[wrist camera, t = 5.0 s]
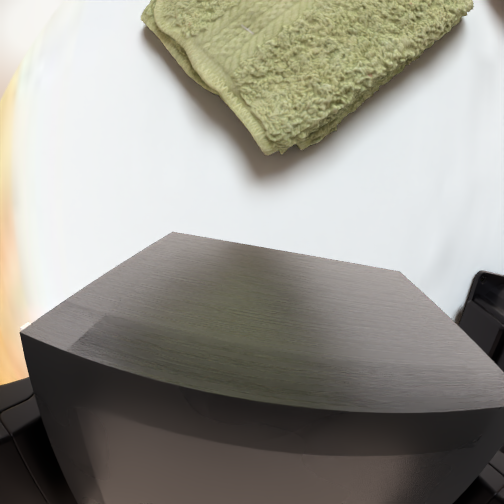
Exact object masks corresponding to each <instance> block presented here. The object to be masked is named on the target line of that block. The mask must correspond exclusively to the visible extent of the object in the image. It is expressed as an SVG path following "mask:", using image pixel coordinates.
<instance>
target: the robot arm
mask: <svg viewBox="0 0 504 504" xmlns="http://www.w3.org/2000/svg"><path fill="white" fill-rule="evenodd" d="M482 277H483V280H482V281H481V278H482ZM459 327H460V328H461V329H462V330H463V331H464V332H465V333H466V334H467V335H468V336H469V337H470V338H471V339H472V340H473V341H474V342H475V343H476V344H477V345H478V346H479V347H480V348H481V349H482V350H483V351H484V352H485V353H486V354H487V355H488V356H489V357H490V358H491V359H492V361H493V362H494V363H495V364H496V365H497V366H498V367H499V368H500V369H501V370H502V371H503V372H504V275H501V274H496V273H492V272H487V271H479V272H478V273H477V274H476V276H475V279H474V283H473V286H472V289H471V292H470V295H469V298H468V301H467V304H466V307H465V310H464V313H463V315H462V318H461V321H460V323H459ZM0 504H78V503H77V501H76V499H75V497H74V495H73V493H72V491H71V489H70V487H69V485H68V483H67V481H66V479H65V477H64V474H63V472H62V470H61V468H60V465H59V463H58V461H57V458H56V456H55V453H54V451H53V448H52V446H51V443H50V440H49V438H48V435H47V432H46V429H45V427H44V424H43V421H42V418H41V415H40V412H39V409H38V405H37V402H36V399H35V395H34V392H33V388H32V385H31V381H30V377H28V378H25V379H21V380H18V381H15V382H11V383H8V384H4V385H0ZM453 504H504V443H503V445H502V446H501V448H500V449H499V450H498V452H497V453H496V454H495V455H494V457H493V458H492V459H491V461H490V462H489V463H488V464H487V466H486V467H485V468H484V469H483V470H482V472H481V473H480V474H479V475H478V476H477V478H476V479H475V480H474V481H473V482H472V483H471V484H470V486H469V487H468V488H467V489H466V490H465V491H464V492H463V493H462V494H461V495H460V496H459V498H458V499H457V500H456V501H455V502H454V503H453Z"/></svg>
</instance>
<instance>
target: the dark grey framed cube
mask: <svg viewBox="0 0 504 504" xmlns="http://www.w3.org/2000/svg"><path fill="white" fill-rule="evenodd" d="M20 336H21V341H22V346H23V351H24V356H25V360H26V365H27V369H28V373H29V377H30V381H31V385H32V388H33V392H34V395H35V399H36V402H37V405H38V409H39V412H40V415H41V418H42V421H43V424H44V427H45V429H46V432H47V435H48V438H49V440H50V443H51V446H52V448H53V451H54V453H55V456H56V458H57V461H58V463H59V465H60V468H61V470H62V472H63V474H64V477H65V479H66V481H67V483H68V485H69V487H70V489H71V491H72V493H73V495H74V497H75V499H76V501H77V503H78V504H453V503H454V502H455V501H456V500H457V499H458V498H459V496H460V495H461V494H462V493H463V492H464V491H465V490H466V489H467V488H468V487H469V486H470V484H471V483H472V482H473V481H474V480H475V479H476V478H477V476H478V475H479V474H480V473H481V472H482V470H483V469H484V468H485V467H486V466H487V464H488V463H489V462H490V461H491V459H492V458H493V457H494V455H495V454H496V453H497V452H498V450H499V449H500V448H501V446H502V445H503V443H504V372H503V371H502V370H501V369H500V368H499V367H498V366H497V365H496V364H495V363H494V362H493V361H492V359H491V358H490V357H489V356H488V355H487V354H486V353H485V352H484V351H483V350H482V349H481V348H480V347H479V346H478V345H477V344H476V343H475V342H474V341H473V340H472V339H471V338H470V337H469V336H468V335H467V334H466V333H465V332H464V331H463V330H462V329H461V328H460V327H459V326H458V325H457V324H456V323H455V322H454V321H453V320H452V319H451V318H450V317H449V316H447V315H446V314H445V313H444V312H443V311H442V310H441V309H440V308H439V307H438V306H437V305H436V304H435V303H434V302H433V301H432V300H430V299H429V298H428V297H427V296H426V295H425V294H424V293H423V292H422V291H421V290H420V289H418V288H417V287H416V286H415V285H414V284H413V283H412V282H411V281H410V280H408V279H407V278H406V277H405V276H404V275H403V274H402V273H401V272H399V271H394V270H388V269H383V268H377V267H371V266H366V265H360V264H355V263H349V262H343V261H338V260H332V259H327V258H321V257H315V256H310V255H304V254H298V253H292V252H287V251H281V250H275V249H270V248H264V247H258V246H252V245H247V244H241V243H235V242H229V241H223V240H218V239H212V238H206V237H200V236H194V235H188V234H182V233H177V232H172V233H170V234H168V235H167V236H165V237H163V238H162V239H160V240H158V241H157V242H155V243H153V244H152V245H150V246H148V247H147V248H145V249H144V250H142V251H140V252H139V253H137V254H136V255H134V256H132V257H131V258H129V259H128V260H126V261H124V262H123V263H121V264H120V265H118V266H117V267H115V268H113V269H112V270H110V271H109V272H107V273H106V274H104V275H103V276H101V277H99V278H98V279H96V280H95V281H93V282H92V283H90V284H89V285H87V286H86V287H84V288H83V289H81V290H80V291H78V292H77V293H75V294H74V295H72V296H71V297H69V298H68V299H66V300H65V301H63V302H62V303H60V304H59V305H57V306H56V307H55V308H53V309H52V310H50V311H49V312H47V313H46V314H44V315H43V316H42V317H40V318H39V319H37V320H36V321H34V322H33V323H32V324H30V325H29V326H27V327H26V328H25V329H23V330H22V331H21V332H20Z"/></svg>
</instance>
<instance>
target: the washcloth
mask: <svg viewBox="0 0 504 504" xmlns="http://www.w3.org/2000/svg"><path fill="white" fill-rule="evenodd" d="M473 7H474V6H473V1H472V0H151V1H150V4H149V5H148V6H147V7H146V8H145V10H144V11H143V13H142V15H141V20H142V21H143V22H144V23H145V24H146V25H147V26H148V27H149V28H150V30H151V31H153V32H154V33H155V34H156V35H157V37H158V38H159V39H160V40H161V42H162V43H163V44H164V46H165V47H166V49H167V50H168V51H169V52H170V54H171V56H172V57H173V58H175V60H176V61H177V63H178V64H179V65H180V66H181V67H182V69H183V70H184V71H185V73H186V74H187V75H188V76H189V77H191V78H192V79H193V80H194V81H195V82H196V83H198V84H199V85H201V86H202V87H203V88H204V89H206V90H208V91H210V92H212V93H214V94H216V95H219V96H220V98H221V99H222V100H223V101H224V102H225V103H226V105H227V106H228V107H229V108H230V109H231V110H232V111H233V112H234V113H235V115H236V116H237V117H238V118H239V120H240V121H241V122H242V123H243V125H244V126H245V127H246V128H247V129H248V131H249V132H250V133H251V135H252V137H253V138H254V140H255V141H256V143H257V144H258V146H259V147H260V149H261V151H262V152H263V153H264V154H265V155H267V156H269V155H271V154H273V153H274V152H277V151H279V152H280V153H281V155H283V153H284V152H286V151H287V149H288V148H289V147H292V146H293V145H295V144H296V145H297V146H298V148H299V149H301V150H303V149H305V148H306V147H308V146H309V145H313V144H316V143H319V142H320V141H321V140H322V139H323V138H324V137H325V136H326V135H328V134H330V133H331V132H333V131H337V124H340V123H341V120H342V119H343V118H344V117H346V116H347V115H348V113H351V112H354V111H356V110H357V108H358V107H359V106H361V104H362V103H363V102H365V100H366V99H368V98H369V97H372V96H373V94H374V92H376V91H379V86H380V85H385V84H386V83H387V82H389V81H390V80H391V79H392V78H393V76H395V75H397V74H398V73H400V72H402V71H403V69H404V68H405V65H409V64H411V62H412V61H414V60H416V59H418V58H419V57H420V55H421V54H422V53H424V50H425V49H426V48H431V46H432V45H433V44H434V40H439V39H441V37H442V36H443V35H444V34H446V33H447V32H449V31H451V28H452V26H455V25H456V24H457V23H459V22H460V21H461V20H460V19H461V17H462V16H466V15H467V12H469V11H470V10H471V9H473Z"/></svg>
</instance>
